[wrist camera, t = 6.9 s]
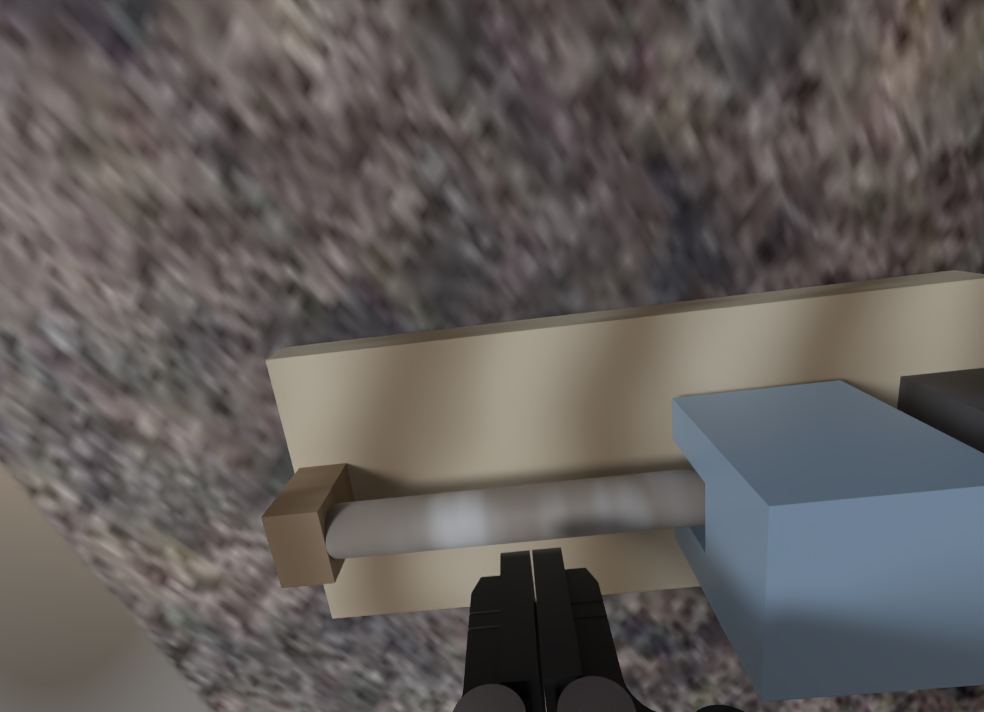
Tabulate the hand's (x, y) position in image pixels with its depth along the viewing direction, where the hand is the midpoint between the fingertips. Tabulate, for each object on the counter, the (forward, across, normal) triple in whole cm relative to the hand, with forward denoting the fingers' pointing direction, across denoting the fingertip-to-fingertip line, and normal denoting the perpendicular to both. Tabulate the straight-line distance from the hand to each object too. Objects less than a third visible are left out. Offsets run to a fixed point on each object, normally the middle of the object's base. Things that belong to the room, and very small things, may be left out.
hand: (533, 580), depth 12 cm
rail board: (+6, -3, 0) cm, 7 cm away
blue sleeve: (+4, -7, 0) cm, 8 cm away
